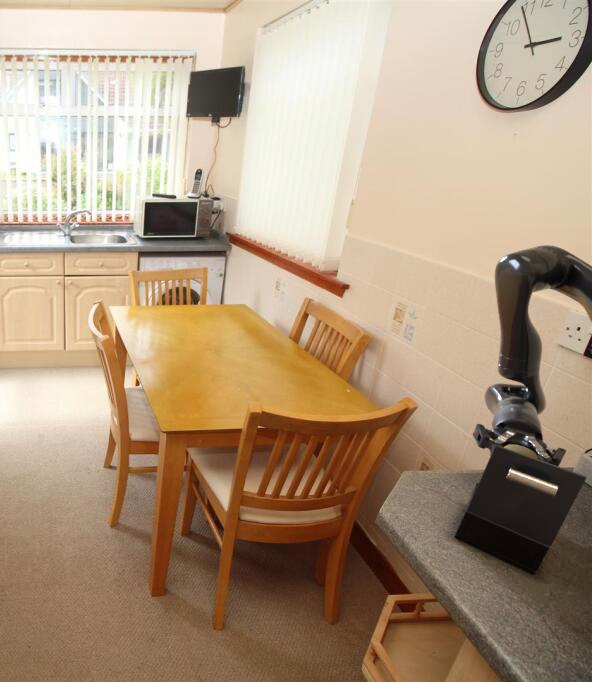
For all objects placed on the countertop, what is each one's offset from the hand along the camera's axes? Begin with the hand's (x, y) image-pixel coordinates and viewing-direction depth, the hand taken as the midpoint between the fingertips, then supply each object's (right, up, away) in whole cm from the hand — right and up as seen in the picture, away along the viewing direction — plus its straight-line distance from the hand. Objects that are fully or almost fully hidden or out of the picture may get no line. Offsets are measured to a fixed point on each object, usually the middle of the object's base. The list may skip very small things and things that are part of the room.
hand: (519, 464), depth 87 cm
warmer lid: (-10, -2, -11) cm, 15 cm away
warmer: (-7, -12, -4) cm, 15 cm away
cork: (+1, -8, +5) cm, 10 cm away
